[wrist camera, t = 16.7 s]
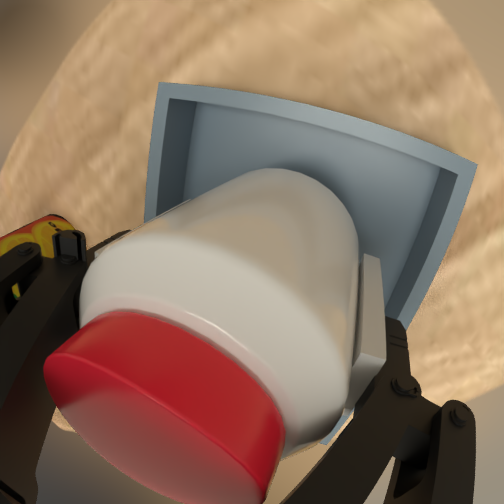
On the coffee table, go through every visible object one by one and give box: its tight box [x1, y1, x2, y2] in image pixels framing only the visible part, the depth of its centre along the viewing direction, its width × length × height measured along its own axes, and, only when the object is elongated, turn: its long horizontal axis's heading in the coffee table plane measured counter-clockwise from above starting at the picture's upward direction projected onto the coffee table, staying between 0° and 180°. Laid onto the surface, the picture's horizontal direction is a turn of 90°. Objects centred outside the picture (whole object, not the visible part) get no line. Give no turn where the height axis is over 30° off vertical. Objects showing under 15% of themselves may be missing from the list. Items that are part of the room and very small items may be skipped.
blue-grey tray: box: [144, 82, 478, 445], centre depth 19 cm, size 16×22×4 cm
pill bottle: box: [43, 168, 360, 504], centre depth 10 cm, size 8×8×11 cm
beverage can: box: [0, 214, 87, 298], centre depth 22 cm, size 9×9×12 cm
